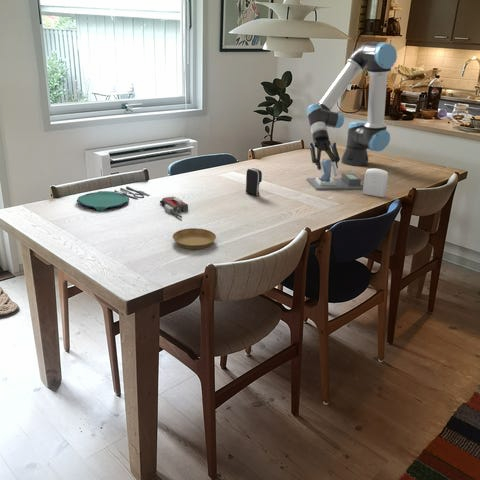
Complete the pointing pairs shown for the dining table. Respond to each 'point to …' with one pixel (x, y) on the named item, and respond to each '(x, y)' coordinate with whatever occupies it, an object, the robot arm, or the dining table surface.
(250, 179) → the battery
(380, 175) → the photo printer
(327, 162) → the cell
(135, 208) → the dining table surface
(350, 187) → the cell checker
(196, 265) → the dining table surface
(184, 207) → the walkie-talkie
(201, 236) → the plant saucer
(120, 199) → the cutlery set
